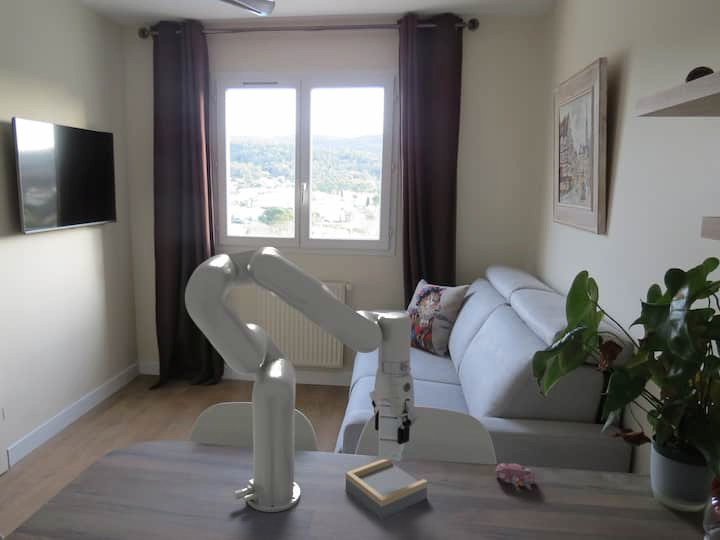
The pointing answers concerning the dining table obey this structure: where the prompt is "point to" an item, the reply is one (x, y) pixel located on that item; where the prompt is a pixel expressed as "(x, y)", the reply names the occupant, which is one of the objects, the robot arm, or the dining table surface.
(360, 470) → the tray
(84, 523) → the dining table surface
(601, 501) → the dining table surface
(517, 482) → the pink toy figure
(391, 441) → the syrup box
